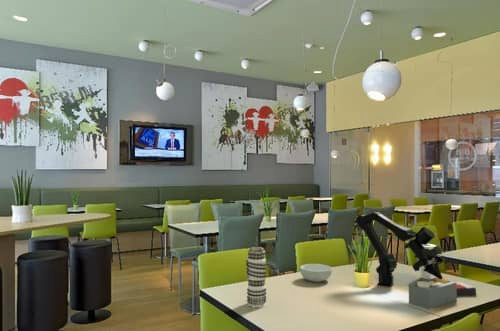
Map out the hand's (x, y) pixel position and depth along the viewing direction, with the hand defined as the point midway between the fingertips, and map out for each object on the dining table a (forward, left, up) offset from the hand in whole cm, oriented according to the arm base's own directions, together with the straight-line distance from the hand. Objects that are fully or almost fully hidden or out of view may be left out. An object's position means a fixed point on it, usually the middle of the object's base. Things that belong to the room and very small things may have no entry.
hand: (441, 278), depth 180 cm
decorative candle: (-64, -57, -9) cm, 86 cm away
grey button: (-5, -13, -3) cm, 14 cm away
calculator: (+3, +14, -10) cm, 17 cm away
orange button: (0, 0, -3) cm, 3 cm away
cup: (-14, +34, -9) cm, 38 cm away
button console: (-2, -7, -9) cm, 12 cm away
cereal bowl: (-61, -6, -9) cm, 62 cm away
